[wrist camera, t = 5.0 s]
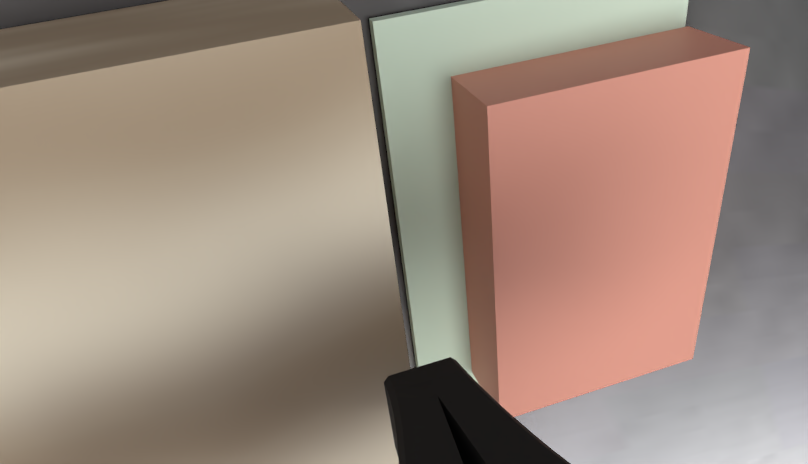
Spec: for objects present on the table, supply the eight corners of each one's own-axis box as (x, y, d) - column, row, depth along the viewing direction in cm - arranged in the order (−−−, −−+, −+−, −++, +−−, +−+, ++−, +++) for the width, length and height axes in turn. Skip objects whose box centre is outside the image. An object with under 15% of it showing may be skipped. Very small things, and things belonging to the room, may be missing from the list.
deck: (395, 447, 20) (438, 564, 17) (95, 544, 18) (76, 696, 15) (312, -25, 12) (360, 20, 9) (-212, 65, 11) (-385, 160, 7)
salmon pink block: (499, 421, 17) (472, 371, 19) (692, 358, 18) (650, 317, 20) (487, 106, 12) (450, 76, 14) (749, 47, 13) (688, 26, 15)
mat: (638, 348, 21) (643, 353, 21) (422, 415, 20) (426, 423, 19) (684, -41, 15) (693, -40, 14) (369, 18, 13) (372, 21, 13)
